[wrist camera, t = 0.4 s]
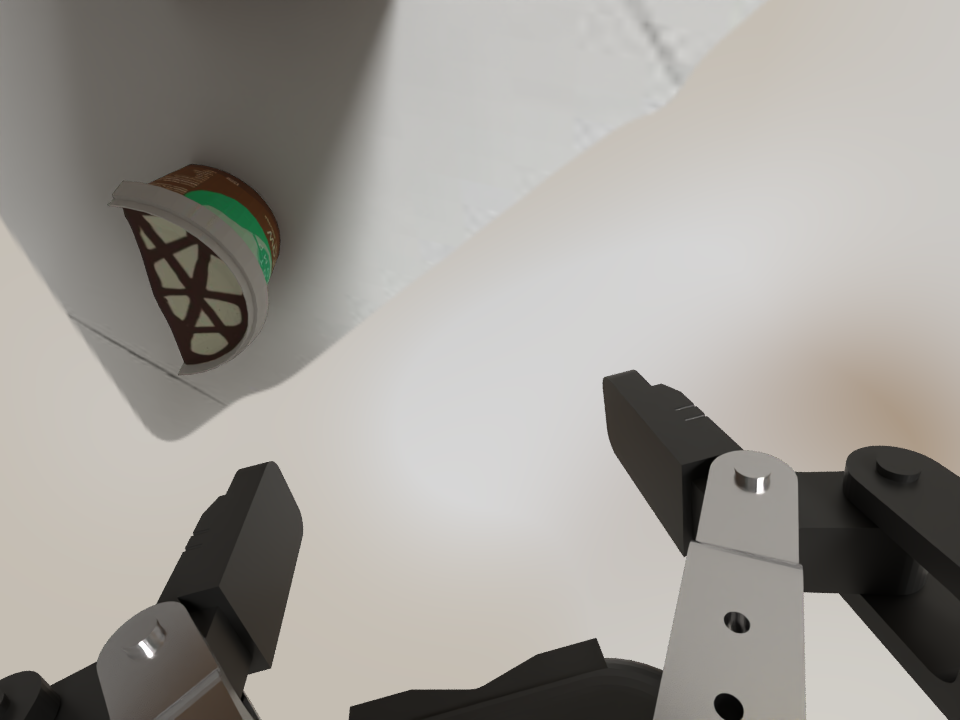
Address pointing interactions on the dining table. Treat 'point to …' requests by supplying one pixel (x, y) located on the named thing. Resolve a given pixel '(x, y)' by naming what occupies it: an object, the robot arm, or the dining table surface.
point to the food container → (204, 258)
